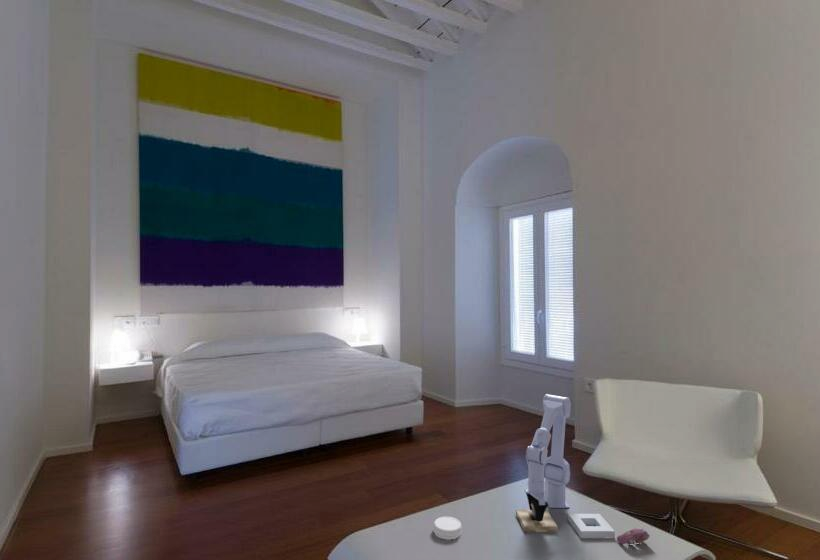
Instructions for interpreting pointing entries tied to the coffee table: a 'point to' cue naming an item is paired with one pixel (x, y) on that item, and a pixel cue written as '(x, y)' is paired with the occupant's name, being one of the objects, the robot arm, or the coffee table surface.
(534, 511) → the lock pin
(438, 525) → the white round disc
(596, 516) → the dock
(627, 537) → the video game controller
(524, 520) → the pin mount
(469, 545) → the coffee table surface
